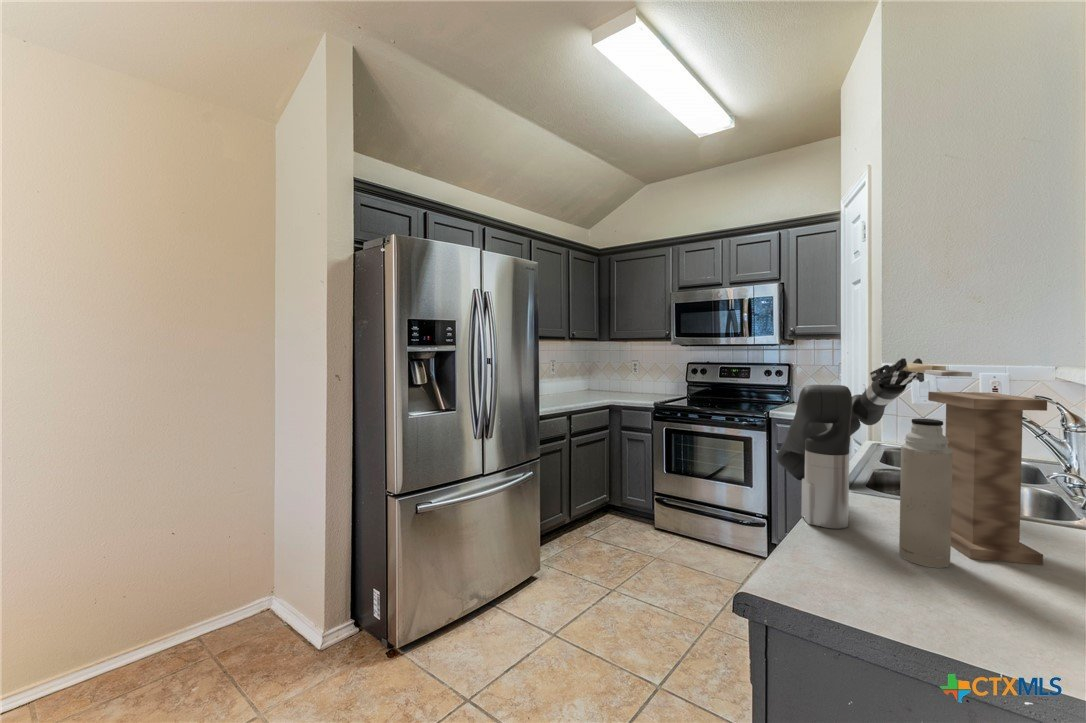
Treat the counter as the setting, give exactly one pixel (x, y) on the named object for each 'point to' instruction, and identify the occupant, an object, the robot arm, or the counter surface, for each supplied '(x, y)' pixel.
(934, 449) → the thermos bottle
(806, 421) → the robot arm
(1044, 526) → the counter surface
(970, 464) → the stand
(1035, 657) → the counter surface
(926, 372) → the paddle
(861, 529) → the counter surface
